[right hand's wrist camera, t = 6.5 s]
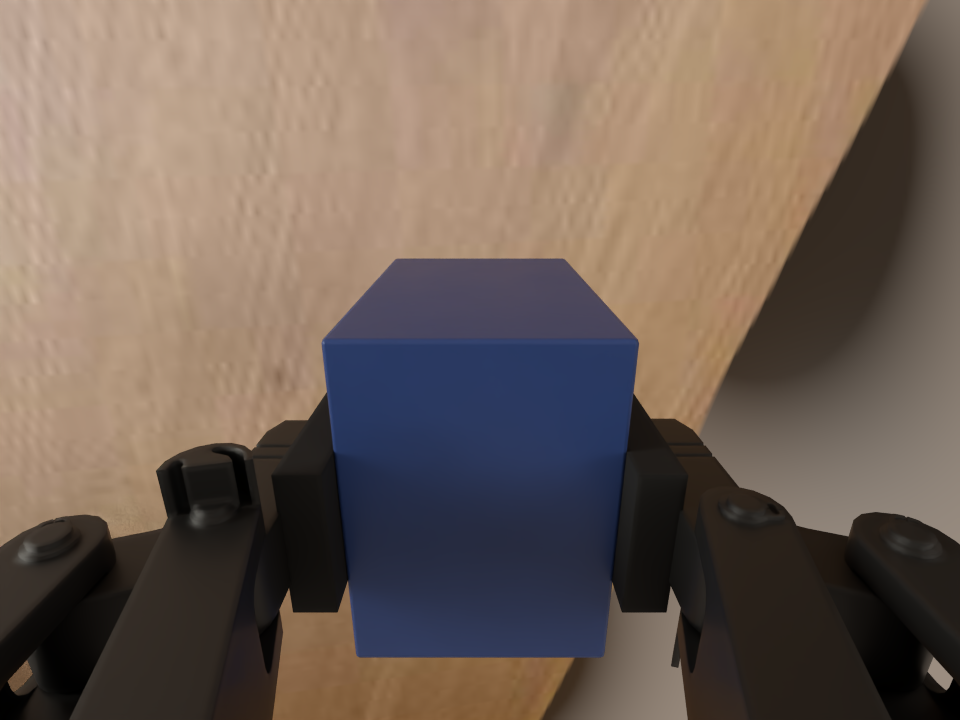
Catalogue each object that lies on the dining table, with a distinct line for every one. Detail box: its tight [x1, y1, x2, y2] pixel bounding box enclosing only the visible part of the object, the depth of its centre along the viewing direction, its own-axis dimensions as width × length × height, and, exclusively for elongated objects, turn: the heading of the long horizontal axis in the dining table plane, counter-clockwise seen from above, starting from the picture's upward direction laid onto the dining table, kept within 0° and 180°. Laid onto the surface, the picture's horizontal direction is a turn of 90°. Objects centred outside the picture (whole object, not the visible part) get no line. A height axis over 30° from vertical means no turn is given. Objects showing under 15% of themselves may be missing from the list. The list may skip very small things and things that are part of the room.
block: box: [322, 259, 639, 657], centre depth 12 cm, size 5×6×7 cm
